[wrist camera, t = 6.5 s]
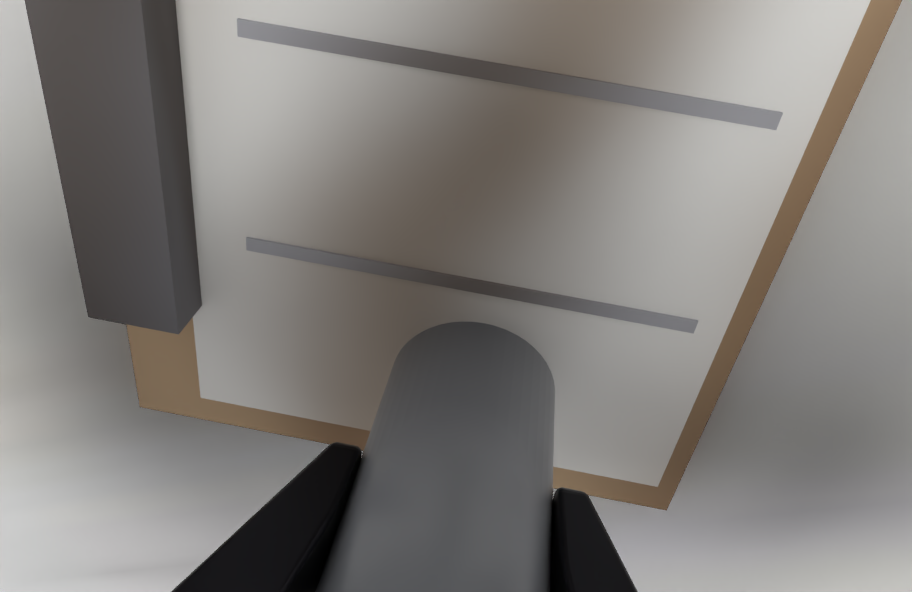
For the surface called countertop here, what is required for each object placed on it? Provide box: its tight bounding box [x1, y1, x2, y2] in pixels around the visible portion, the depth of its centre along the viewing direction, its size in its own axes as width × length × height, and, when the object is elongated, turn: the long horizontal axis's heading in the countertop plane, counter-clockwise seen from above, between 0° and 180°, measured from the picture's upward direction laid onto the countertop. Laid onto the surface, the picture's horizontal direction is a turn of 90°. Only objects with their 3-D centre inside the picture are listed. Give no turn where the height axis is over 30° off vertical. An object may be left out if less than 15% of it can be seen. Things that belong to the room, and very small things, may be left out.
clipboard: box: [25, 0, 902, 510], centre depth 10 cm, size 11×12×1 cm
